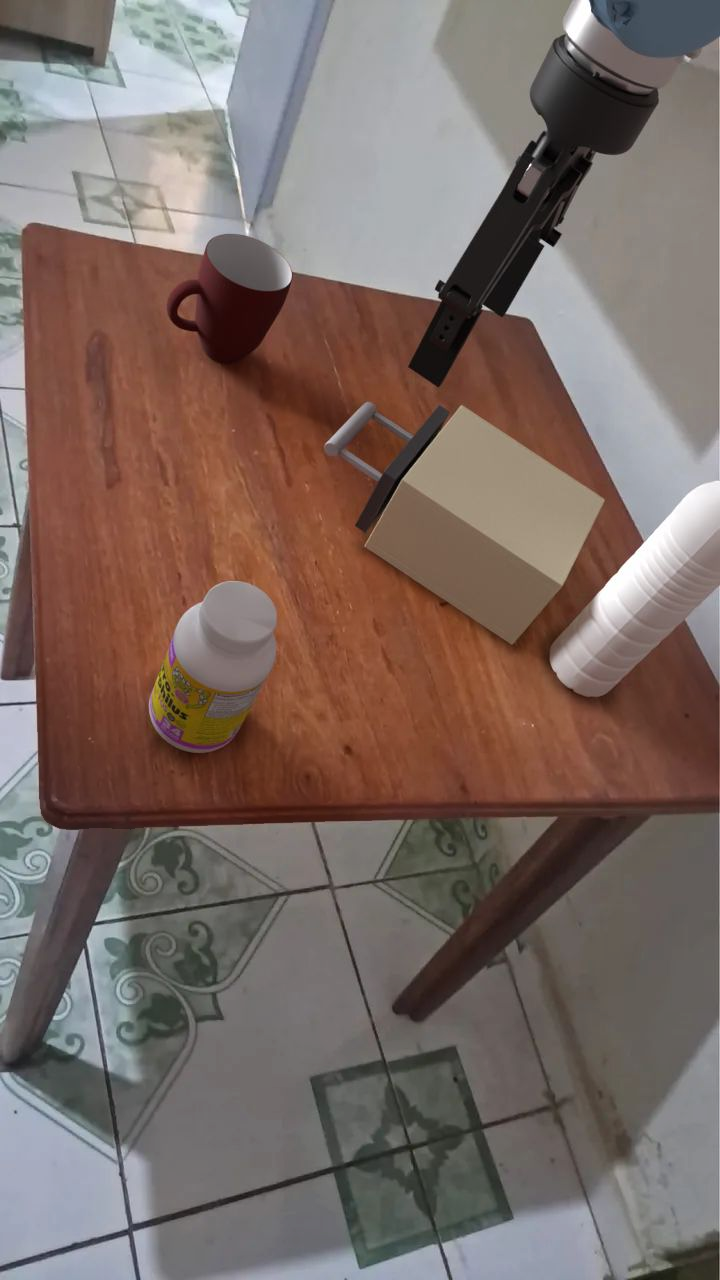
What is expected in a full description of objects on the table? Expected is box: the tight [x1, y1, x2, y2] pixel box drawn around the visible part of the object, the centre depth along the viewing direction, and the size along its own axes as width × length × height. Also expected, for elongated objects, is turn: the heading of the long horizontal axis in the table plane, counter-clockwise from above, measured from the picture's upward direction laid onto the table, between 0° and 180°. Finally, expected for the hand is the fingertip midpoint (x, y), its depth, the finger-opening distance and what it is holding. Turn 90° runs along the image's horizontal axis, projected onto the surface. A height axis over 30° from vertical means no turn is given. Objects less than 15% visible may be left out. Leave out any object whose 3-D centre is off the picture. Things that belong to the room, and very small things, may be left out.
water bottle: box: [549, 479, 720, 698], centre depth 75 cm, size 9×6×25 cm
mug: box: [166, 233, 294, 365], centre depth 88 cm, size 10×8×10 cm
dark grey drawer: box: [323, 401, 451, 534], centre depth 85 cm, size 20×12×7 cm, turn 63°
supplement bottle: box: [148, 580, 278, 754], centre depth 63 cm, size 7×7×13 cm
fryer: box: [364, 404, 606, 646], centre depth 85 cm, size 16×14×9 cm
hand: (459, 339), depth 74 cm, fingers open, 13 cm apart
